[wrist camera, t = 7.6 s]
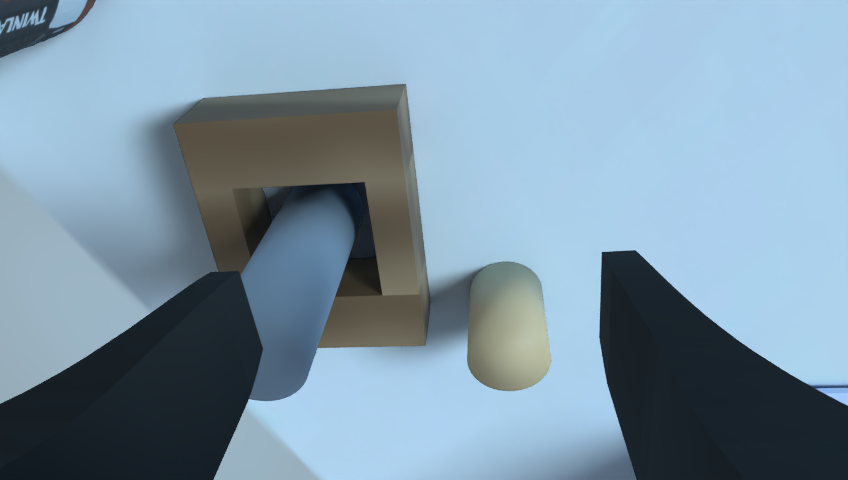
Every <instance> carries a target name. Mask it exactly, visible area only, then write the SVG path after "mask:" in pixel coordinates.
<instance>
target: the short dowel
mask: <svg viewBox="0 0 848 480" xmlns="http://www.w3.org/2000/svg"><path fill="white" fill-rule="evenodd" d="M467 362H468V367H469V369H470V371H471V373H472V374H473V376H474V377H475V378H476V379H477V380H478V381H479V382H481V383H482V384H484V385H486V386H488V387H490V388H493V389H496V390H502V391H517V390H522V389H526V388H529V387H531V386H533V385H535V384H536V383H538V382H539V381H540V380H542V379H543V377H544V376H545V375H546V374H547V372H548V370H549V368H550V364H551V355H550V347H549V339H548V332H547V324H546V317H545V309H544V301H543V294H542V286H541V283H540V280H539V278H538V277H537V275H536V274H535V273H534V272H533V271H532V270H531V269H529V268H528V267H526V266H524V265H521V264H519V263H515V262H498V263H494V264H490V265H488V266H486V267H484V268H483V269H481V270H480V271H479V272H478V273H477V274H476V275H475V277H474V278H473V280H472V282H471V285H470V298H469V326H468V353H467Z"/></svg>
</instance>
